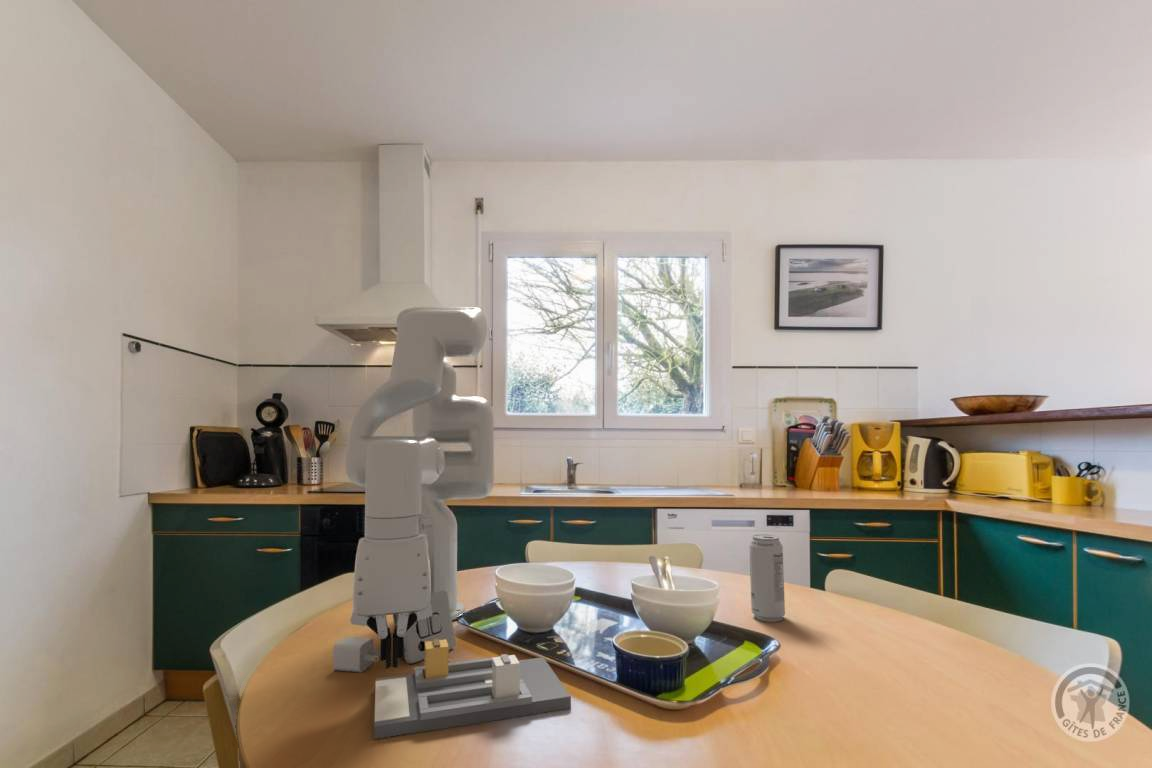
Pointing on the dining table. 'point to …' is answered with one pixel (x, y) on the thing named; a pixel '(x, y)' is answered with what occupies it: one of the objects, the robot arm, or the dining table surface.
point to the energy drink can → (767, 578)
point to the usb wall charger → (354, 654)
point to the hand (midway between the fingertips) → (391, 664)
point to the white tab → (505, 676)
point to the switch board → (462, 697)
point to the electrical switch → (429, 629)
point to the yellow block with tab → (436, 658)
